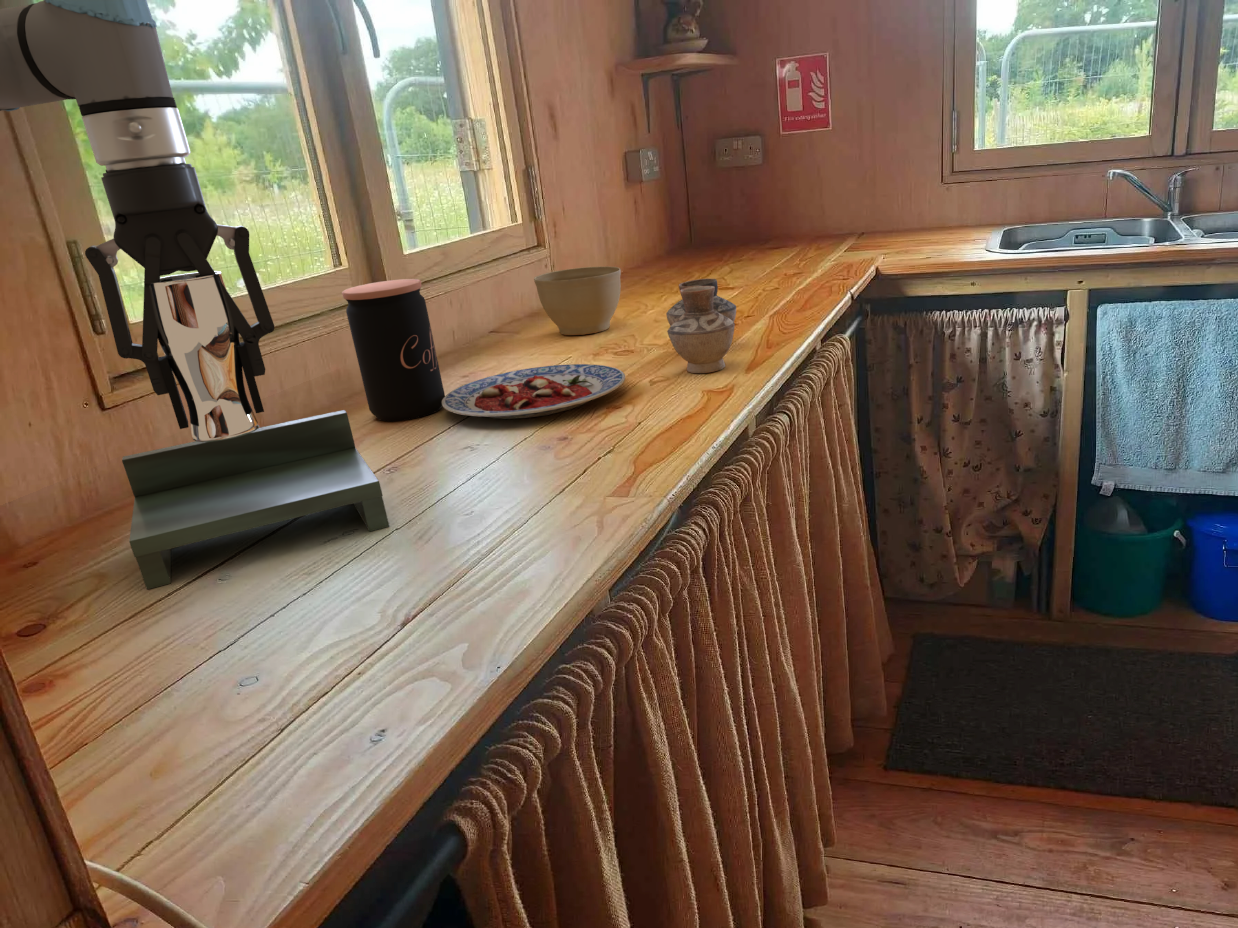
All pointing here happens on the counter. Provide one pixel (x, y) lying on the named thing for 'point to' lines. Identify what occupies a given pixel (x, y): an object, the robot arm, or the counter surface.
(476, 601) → the counter surface
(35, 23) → the robot arm
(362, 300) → the coffee jar
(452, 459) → the counter surface
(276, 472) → the shelf
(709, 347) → the pottery
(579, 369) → the ceramic plate
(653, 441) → the counter surface
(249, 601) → the counter surface
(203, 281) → the beer glass
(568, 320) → the planter bowl
